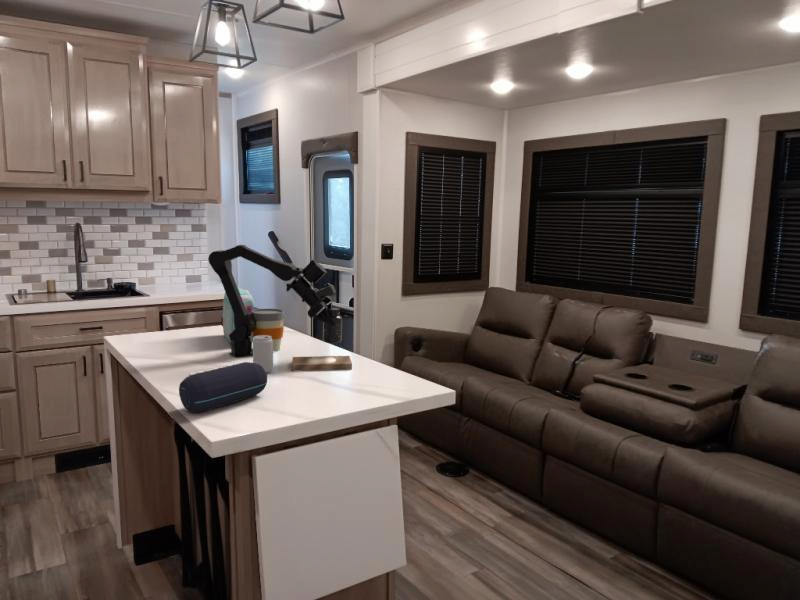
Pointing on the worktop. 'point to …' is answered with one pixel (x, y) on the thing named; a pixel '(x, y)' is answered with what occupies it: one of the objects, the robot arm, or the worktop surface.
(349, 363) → the walnut plinth
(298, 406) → the worktop surface
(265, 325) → the reusable coffee cup
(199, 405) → the portable speaker
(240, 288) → the lunch box
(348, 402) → the worktop surface
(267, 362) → the beverage can
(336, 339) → the supplement bottle
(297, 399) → the worktop surface
